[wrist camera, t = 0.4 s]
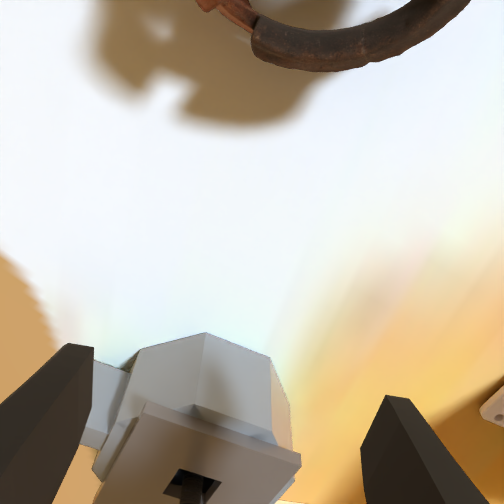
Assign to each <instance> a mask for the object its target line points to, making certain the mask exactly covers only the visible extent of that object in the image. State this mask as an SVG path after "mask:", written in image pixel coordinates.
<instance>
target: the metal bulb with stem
mask: <svg viewBox="0 0 504 504" xmlns="http://www.w3.org/2000/svg"><path fill="white" fill-rule="evenodd" d="M202 487H203V476H202V475H199V474H196V473H193V472H190V471H189V472H186V473H185V474H184V476H183V482H182V488H181V494H180V501H179V504H201V495H202Z"/></svg>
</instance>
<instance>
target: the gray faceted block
mask: <svg viewBox="0 0 504 504" xmlns="http://www.w3.org/2000/svg"><path fill="white" fill-rule="evenodd" d="M79 444H81V445H85V446H88V447H91V448H94V449H97V450H98V452H97V455H96V458H95V461H94V464H93V466H92V471H93V472H94V473H95V474H96V476H97V477H98V478H99V479H100V481H101V482H102V484H101V485H100V487H99V489H98V491H97V493H96V495H95V498H94V500H93V504H179V501H180V494H181V488H182V482H183V476H184V474H185V473H186V472H189V471H190V472H193V473H196V474H199V475H202V476H203V487H202V495H201V504H275V503H276V502H277V501H278V500H279V498H280V497H281V496H282V495H283V494H284V493H285V492H286V490H287V489H288V488H289V487H290V486H291V485H292V484H293V483H294V481H295V473H296V472H297V471H298V470H299V469H300V468H301V467H302V465H301V454H299V453H297V452H294V451H293V447H292V433H291V419H290V405H289V402H288V400H287V397H286V395H285V393H284V390H283V388H282V385H281V383H280V381H279V378H278V376H277V373H276V371H275V369H274V366H273V364H272V361H271V359H270V357H267V356H265V355H262V354H259V353H257V352H254V351H252V350H249V349H247V348H244V347H242V346H239V345H236V344H234V343H231V342H229V341H226V340H224V339H221V338H219V337H216V336H213V335H211V334H208V333H202V334H198V335H194V336H190V337H186V338H182V339H178V340H175V341H171V342H167V343H163V344H159V345H155V346H151V347H147V348H143V349H140V351H139V353H138V355H137V357H136V359H135V361H134V363H133V365H132V367H131V369H130V371H129V373H128V372H125V371H123V370H120V369H117V368H114V367H111V366H109V365H106V364H103V363H100V362H97V361H95V360H94V362H93V392H92V408H91V411H90V414H89V417H88V420H87V423H86V426H85V429H84V432H83V435H82V438H81V441H80V443H79Z"/></svg>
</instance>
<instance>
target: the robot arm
mask: <svg viewBox="0 0 504 504" xmlns="http://www.w3.org/2000/svg"><path fill="white" fill-rule="evenodd" d="M93 362H94V347H89V346H83V345H77V344H71V343H67V344H66V345H64V346H63V347H62V348H61V349H60V350H59V351H58V352H57V353H56V354H55V355H54V356H52V357H51V359H50V360H48V362H46V363H45V364H44V365H43V366H42V367H41V368H40V369H39V370H38V371H37V372H36V373H35V374H33V375H32V376H31V377H30V378H29V379H28V380H27V381H26V382H25V383H24V384H23V385H21V386H20V387H19V388H18V389H17V390H16V391H15V392H13V393H12V394H11V395H10V396H9V397H8V398H6V399H5V400H4V401H3V402H2V403H1V404H0V504H52V502H53V500H54V498H55V496H56V494H57V492H58V489H59V487H60V485H61V483H62V481H63V479H64V477H65V475H66V472H67V470H68V468H69V466H70V464H71V461H72V460H73V457H74V455H75V453H76V451H77V449H78V446H79V443H80V441H81V438H82V435H83V432H84V429H85V426H86V423H87V420H88V417H89V414H90V411H91V408H92V392H93ZM479 412H480V414H481V416H482V418H483V419H485V420H487V421H489V422H492V423H494V424H497V425H499V426H502V427H504V386H502V387H501V388H500V389H499V390H498V391H497V392H496V393H495V394H494V395H493V396H492V397H491V398H490V399H488V400H487V401H486V402H485V403H484V404H483V405H482V406H481V407H480V409H479ZM360 452H361V464H362V475H363V484H364V492H365V497H366V502H367V504H490V503H489V502H488V501H487V500H486V499H485V497H484V496H483V495H482V494H481V493H480V491H479V490H478V489H477V488H476V486H475V485H474V484H473V483H472V481H471V480H470V479H469V478H468V476H467V475H466V474H465V472H464V471H463V470H462V468H461V467H460V466H459V465H458V463H457V462H456V461H455V459H454V458H453V457H452V455H451V454H450V453H449V451H448V450H447V449H446V447H445V446H444V445H443V443H442V442H441V441H440V439H439V438H438V437H437V435H436V434H435V433H434V431H433V430H432V429H431V427H430V426H429V424H428V423H427V422H426V420H425V419H424V418H423V416H422V415H421V414H420V412H419V411H418V410H417V408H416V407H415V406H414V404H413V403H412V402H411V400H410V399H408V398H402V397H396V396H390V395H385V397H384V399H383V401H382V404H381V406H380V408H379V410H378V412H377V414H376V416H375V418H374V420H373V422H372V425H371V427H370V429H369V431H368V433H367V435H366V437H365V439H364V441H363V443H362V446H361V448H360Z"/></svg>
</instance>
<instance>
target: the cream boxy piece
mask: <svg viewBox="0 0 504 504" xmlns="http://www.w3.org/2000/svg"><path fill="white" fill-rule="evenodd" d="M275 504H303V503H296V502H289V501H281V500H278V501H277V502H276V503H275Z"/></svg>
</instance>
